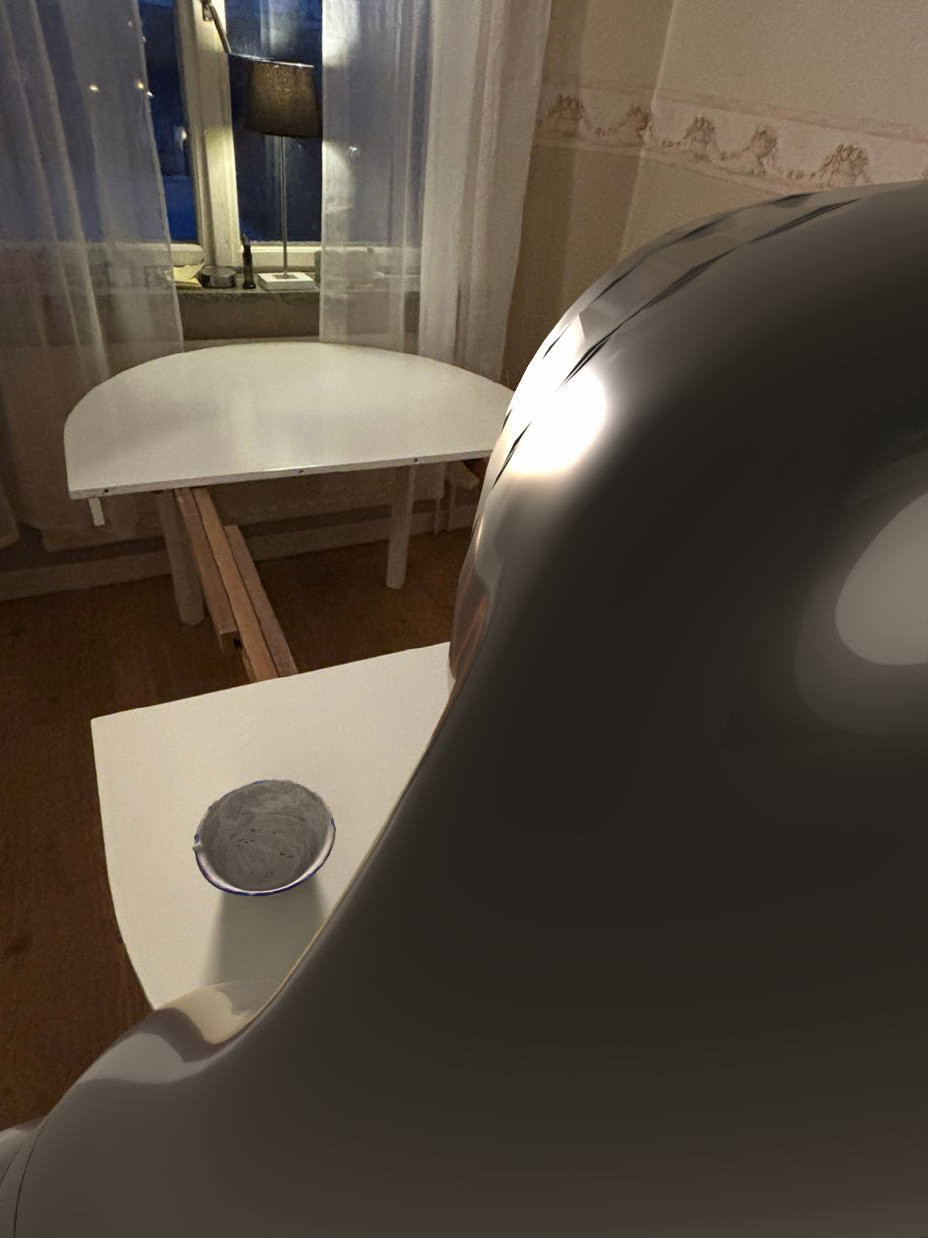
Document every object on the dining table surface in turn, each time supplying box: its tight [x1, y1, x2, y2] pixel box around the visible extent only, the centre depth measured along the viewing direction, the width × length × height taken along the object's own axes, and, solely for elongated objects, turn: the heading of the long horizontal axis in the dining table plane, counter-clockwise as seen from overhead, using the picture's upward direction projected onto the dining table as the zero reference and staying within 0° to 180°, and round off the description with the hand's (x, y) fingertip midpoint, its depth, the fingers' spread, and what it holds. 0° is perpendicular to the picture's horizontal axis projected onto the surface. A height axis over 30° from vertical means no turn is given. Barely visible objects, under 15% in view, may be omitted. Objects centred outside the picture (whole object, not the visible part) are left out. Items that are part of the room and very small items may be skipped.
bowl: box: [191, 778, 337, 899], centre depth 71 cm, size 13×13×5 cm
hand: (452, 1040), depth 52 cm, fingers closed on pill bottle, 6 cm apart
